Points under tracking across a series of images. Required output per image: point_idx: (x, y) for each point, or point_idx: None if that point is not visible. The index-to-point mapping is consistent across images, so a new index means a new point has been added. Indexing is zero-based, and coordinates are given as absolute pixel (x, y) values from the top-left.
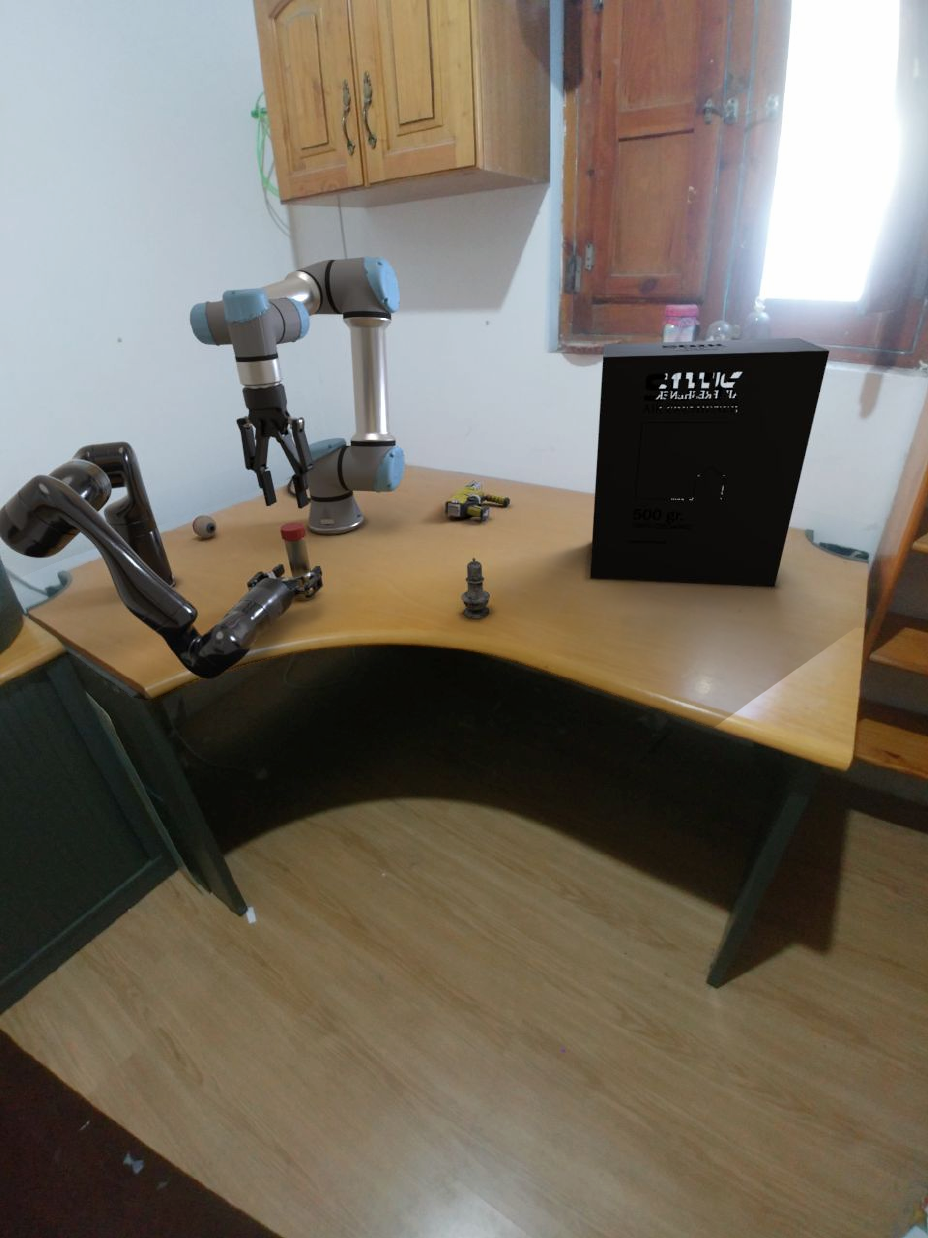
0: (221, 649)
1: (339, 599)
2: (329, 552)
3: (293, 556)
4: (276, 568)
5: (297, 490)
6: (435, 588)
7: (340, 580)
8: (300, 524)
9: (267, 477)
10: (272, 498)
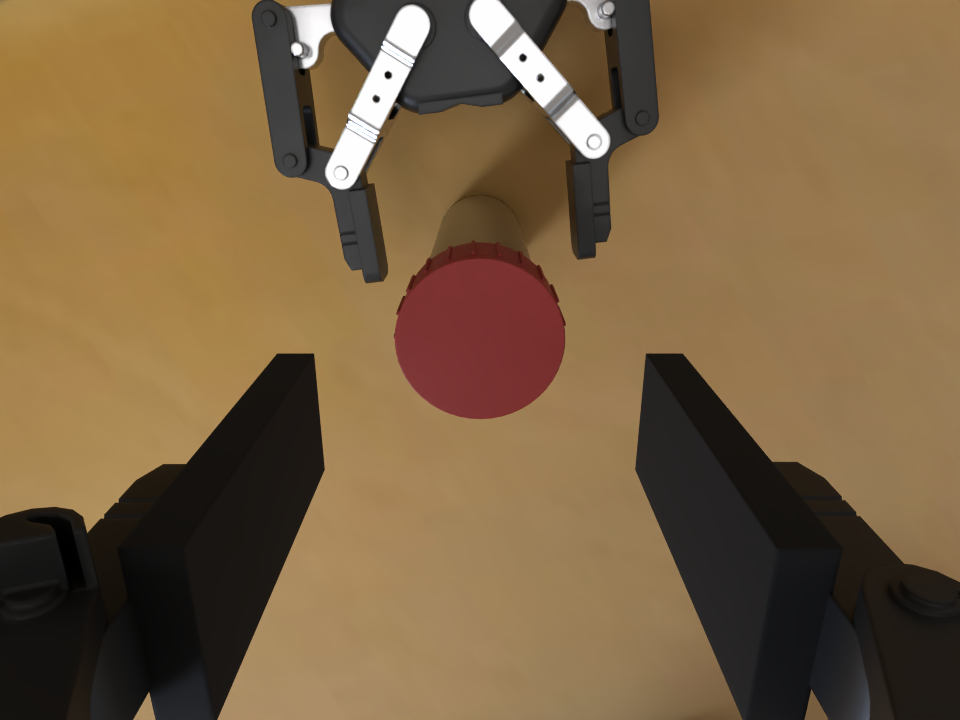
0: None
1: (324, 248)
2: (597, 602)
3: (469, 232)
4: (579, 193)
5: (215, 433)
6: (5, 420)
7: (416, 399)
8: (438, 388)
9: (730, 586)
10: (651, 443)
